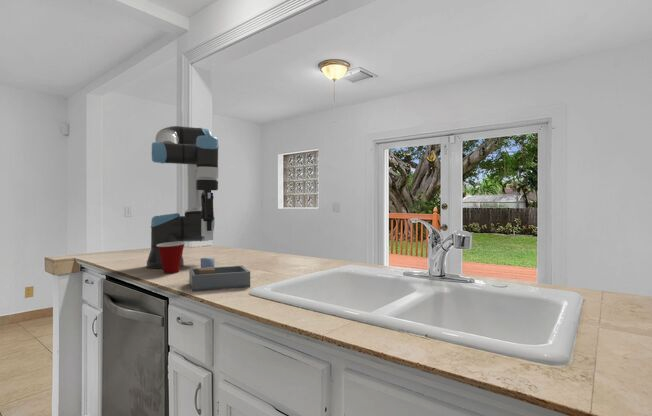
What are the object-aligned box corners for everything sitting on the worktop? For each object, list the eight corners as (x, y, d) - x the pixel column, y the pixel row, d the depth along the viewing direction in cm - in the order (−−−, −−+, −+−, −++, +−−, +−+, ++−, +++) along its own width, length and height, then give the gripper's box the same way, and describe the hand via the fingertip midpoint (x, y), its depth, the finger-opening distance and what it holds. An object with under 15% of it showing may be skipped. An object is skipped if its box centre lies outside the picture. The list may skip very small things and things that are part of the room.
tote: (189, 283, 125) (189, 268, 125) (242, 279, 133) (242, 265, 133) (192, 291, 113) (192, 275, 113) (250, 286, 120) (250, 271, 120)
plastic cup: (151, 272, 147) (151, 242, 147) (177, 269, 155) (177, 240, 155) (163, 275, 139) (163, 244, 139) (190, 272, 148) (190, 242, 148)
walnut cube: (197, 283, 122) (197, 268, 122) (213, 281, 124) (213, 267, 124) (199, 285, 118) (199, 270, 118) (215, 284, 120) (215, 269, 120)
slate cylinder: (199, 276, 139) (199, 257, 139) (213, 275, 141) (213, 257, 141) (201, 278, 134) (201, 259, 134) (215, 277, 136) (215, 258, 136)
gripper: (193, 180, 142) (193, 234, 142) (198, 177, 119) (198, 242, 119) (214, 180, 145) (213, 234, 145) (222, 178, 122) (222, 241, 122)
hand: (206, 238), depth 132 cm, fingers open, 13 cm apart
